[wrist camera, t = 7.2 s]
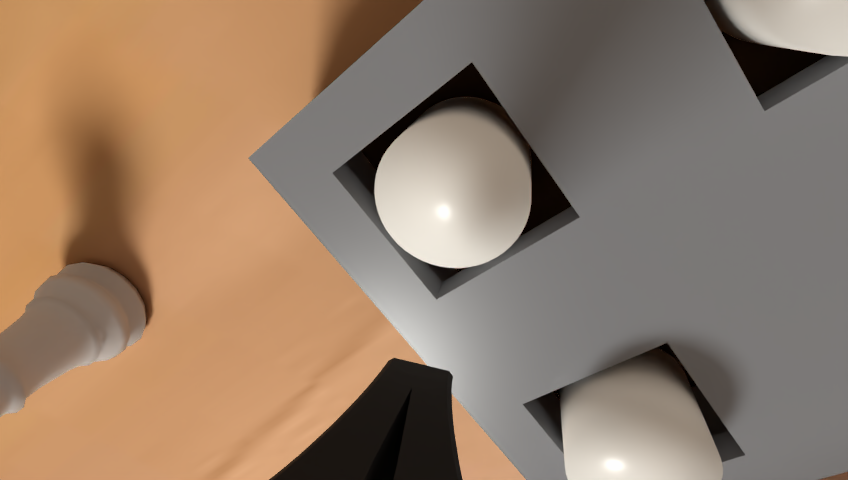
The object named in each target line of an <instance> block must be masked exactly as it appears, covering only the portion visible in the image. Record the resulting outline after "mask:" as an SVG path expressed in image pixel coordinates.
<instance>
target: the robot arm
mask: <svg viewBox="0 0 848 480" xmlns="http://www.w3.org/2000/svg"><path fill="white" fill-rule="evenodd" d="M452 380H453V375H452V374H451V373H450V371H447V370H443V369H439V368H435V367H430V366H426V365H422V364H417V363H413V362H409V361H405V360H400V359H396V358H393V359H391V360H389V361H388V362H387V364H386V365H385V366H384V368H383V369H382V370H381V372H380V373H379V374H378V375H377V377H376V378H375V379H374V380H373V382H372V383H371V384H370V385H369V386H368V387H367V389H366V390H365V391H364V392H363V393H362V394H361V395H360V396H359V398H358V399H357V400H356V401H355V402H354V403H353V404H352V405H351V406H350V407H349V408H348V409H347V410H346V411H345V412H344V413H343V414H342V415H341V416H340V417H339V418H338V419H337V420H336V421H335V422H334V423H333V424H332V425H331V426H330V427H329V428H328V429H327V430H326V431H325V432H324V433H323V434H322V435H321V436H320V437H318V438H317V439H316V440H315V441H314V442H313V443H312V444H311V445H310V446H309V447H308V448H307V449H305V450H304V451H303V452H302V453H301V454H300V455H299V456H298V457H296V458H295V459H294V460H293V461H292V462H290V463H289V464H288V465H287V466H286V467H284V468H283V469H282V470H281V471H280V472H278V473H277V474H276V475H275V476H273V477H272V478H271V479H269V480H462V475H461V470H460V465H459V460H458V453H457V447H456V441H455V434H454V426H453V415H452Z"/></svg>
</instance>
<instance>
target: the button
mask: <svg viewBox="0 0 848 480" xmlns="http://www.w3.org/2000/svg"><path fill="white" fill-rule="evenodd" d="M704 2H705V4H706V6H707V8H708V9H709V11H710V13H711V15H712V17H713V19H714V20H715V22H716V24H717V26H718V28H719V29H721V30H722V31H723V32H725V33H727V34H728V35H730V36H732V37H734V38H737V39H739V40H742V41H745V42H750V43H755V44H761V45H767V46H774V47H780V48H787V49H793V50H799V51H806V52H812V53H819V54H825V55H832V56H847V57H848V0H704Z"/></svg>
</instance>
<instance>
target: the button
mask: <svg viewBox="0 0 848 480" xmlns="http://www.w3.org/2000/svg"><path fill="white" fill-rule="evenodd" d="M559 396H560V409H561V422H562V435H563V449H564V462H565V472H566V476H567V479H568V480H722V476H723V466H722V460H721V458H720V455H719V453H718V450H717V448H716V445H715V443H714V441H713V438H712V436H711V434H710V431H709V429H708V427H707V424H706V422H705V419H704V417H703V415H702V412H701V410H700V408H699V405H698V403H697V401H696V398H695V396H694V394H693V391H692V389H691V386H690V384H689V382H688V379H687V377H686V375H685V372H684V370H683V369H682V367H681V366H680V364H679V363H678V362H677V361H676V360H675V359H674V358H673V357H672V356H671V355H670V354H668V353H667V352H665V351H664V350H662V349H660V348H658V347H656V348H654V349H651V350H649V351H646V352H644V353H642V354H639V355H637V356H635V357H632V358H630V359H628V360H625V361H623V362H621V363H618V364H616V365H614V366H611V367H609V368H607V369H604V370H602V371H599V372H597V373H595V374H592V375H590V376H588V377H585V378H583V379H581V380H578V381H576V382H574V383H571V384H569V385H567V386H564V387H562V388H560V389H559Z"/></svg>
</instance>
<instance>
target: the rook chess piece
mask: <svg viewBox="0 0 848 480" xmlns="http://www.w3.org/2000/svg"><path fill="white" fill-rule="evenodd" d="M145 326H146V311H145V304H144V302H143V300H142V298H141V296H140V294H139V292H138V290H137V289H136V288H135V287H134V286H133V285H132V284H131V283H130V282H129V281H128V280H127V279H126V277H125V276H123V275H121V274H120V273H118V272H116V271H114V270H113V269H111V268H109V267H105V266H101V265H97V264H91V263H84V262H81V263H76V264H70V265H67V266H66V267H65V268H64V269H62V270H61V271H60V272H59V273H58V274H57V275H54V276H50V277H49V278H48V279H47V280H46V281H45V282H44V283H43V284H42V285H41V286H40V287H39V288H38V289H37V290H36V291H35V295H34V299H33V300H32V301H31V302H30V303H29V304H27V305H26V309H25V313H24V314H23V315H22V316H21V317H20V318H19V319H18V320H17V321H16V322H14V323H13V324H12V325H11V326H9V327H8V328H7V329H6V330H4V331H3V332H2V333H1V334H0V417H1V416H3V415H4V414H7V413H17V412H18V411H19V410H21V409H22V408H23V407H24V404H25V400H26V398H27V397H28V396H30V395H31V394H32V393H33V392H35V391H36V390H37V389H39V388H40V387H42V386H44V385H45V384H47V383H49V382H50V381H52V380H54V379H55V378H57V377H59V376H60V375H62V374H64V373H65V372H67V371H69V370H71V369H73V368H76V367H78V366H86V365H90V364H91V363H93V362H96V361H105V360H109V359H111V358H113V357H115V356H117V355H118V354H120V353H121V352H122V351H124V350H125V349H126V346H131V345H132V344H134V343H135V342H136V341H138V340H139V339H141V337H142V334H143V331H144V328H145Z"/></svg>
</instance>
